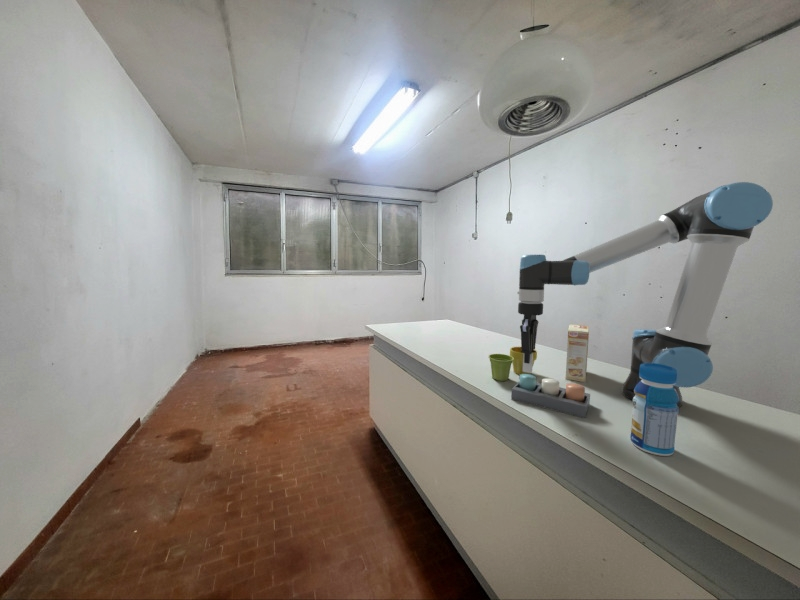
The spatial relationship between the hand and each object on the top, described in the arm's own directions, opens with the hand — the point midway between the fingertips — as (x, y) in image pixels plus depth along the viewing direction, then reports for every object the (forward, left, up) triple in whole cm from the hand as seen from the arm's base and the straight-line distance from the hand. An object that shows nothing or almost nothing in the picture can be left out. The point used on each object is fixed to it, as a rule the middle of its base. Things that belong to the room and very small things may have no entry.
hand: (527, 371), depth 101 cm
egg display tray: (-7, 0, -9) cm, 11 cm away
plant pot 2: (+8, -23, -9) cm, 26 cm away
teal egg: (0, 0, -6) cm, 6 cm away
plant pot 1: (+13, -11, -9) cm, 19 cm away
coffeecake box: (-10, -33, -9) cm, 36 cm away
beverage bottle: (-32, +12, -9) cm, 35 cm away
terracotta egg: (-14, 0, -6) cm, 15 cm away
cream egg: (-7, 0, -6) cm, 9 cm away
